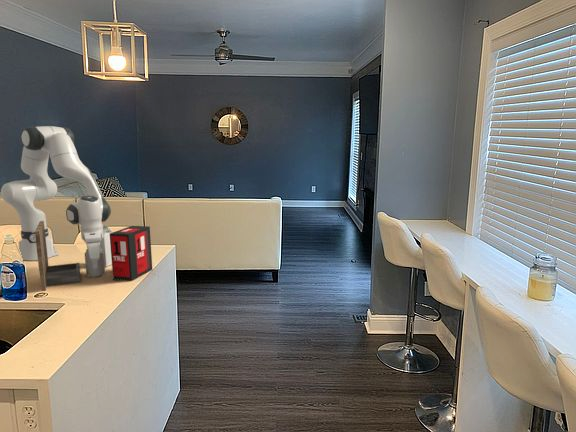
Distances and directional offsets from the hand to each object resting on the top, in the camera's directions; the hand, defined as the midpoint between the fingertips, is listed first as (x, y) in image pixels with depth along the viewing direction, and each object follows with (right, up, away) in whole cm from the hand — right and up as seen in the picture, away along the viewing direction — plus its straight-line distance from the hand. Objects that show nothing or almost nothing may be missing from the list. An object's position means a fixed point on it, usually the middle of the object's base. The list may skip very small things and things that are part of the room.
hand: (95, 265), depth 199 cm
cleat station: (-11, -6, -5) cm, 14 cm away
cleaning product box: (+16, -5, +2) cm, 17 cm away
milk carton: (-3, -2, +17) cm, 17 cm away
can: (0, -5, +1) cm, 5 cm away
